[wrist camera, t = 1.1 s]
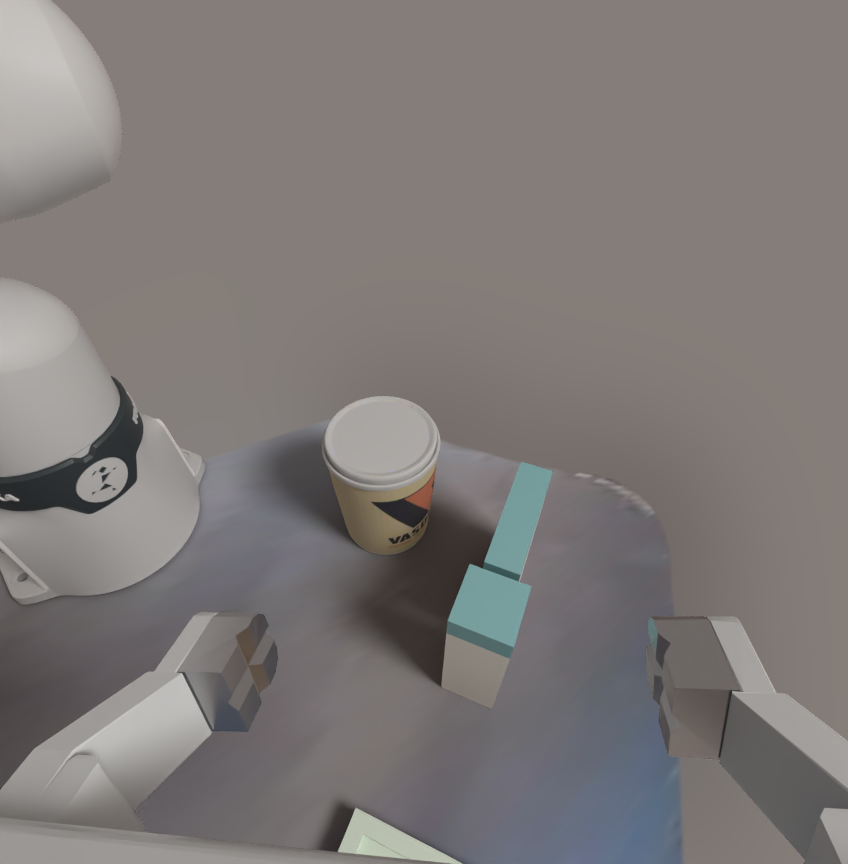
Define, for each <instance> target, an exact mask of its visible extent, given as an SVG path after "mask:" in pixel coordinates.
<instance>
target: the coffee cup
mask: <svg viewBox="0 0 848 864" xmlns="http://www.w3.org/2000/svg"><path fill="white" fill-rule="evenodd" d="M439 450H440V435H439V432H438V429H437V426H436V425H435V423H434V421H433V420H432V419H431V417H430V416H429V415H428V413H427V412H425V410H423V409H422V408H421V407H419V406H418V405H416V404H414V403H412V402H410V401H408V400H405V399H401V398H397V397H390V396H376V397H369V398H364V399H361V400H358V401H356V402H353V403H351V404H349V405H347V406H346V407H344V408H343V409H342V410H340V411H339V412H338V413H337V414H335V416H334V417H333V418H332V419H331V421H330V422H329V424H328V426H327V428H326V430H325V432H324V435H323V438H322V454H323V458H324V461H325V463H326V465H327V467H328V469H329V473H330V476H331V480H332V483H333V486H334V489H335V493H336V496H337V499H338V502H339V505H340V508H341V511H342V515H343V518H344V521H345V524H346V527H347V529H348V532H349V534H350V536H351V538H352V539H353V540H354V542H355V543H356V544H357V545H358V546H360V547H361V548H362V549H364V550H366V551H368V552H371V553H374V554H378V555H393V554H398V553H401V552H404V551H406V550H408V549H410V548H411V547H413V546H414V545H415V544H416V543H417V542H418V541H419V540H420V539H421V538H422V536H423V534H424V533H425V530H426V528H427V524H428V519H429V513H430V506H431V499H432V492H433V485H434V478H435V471H436V463H437V457H438V454H439Z"/></svg>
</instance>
